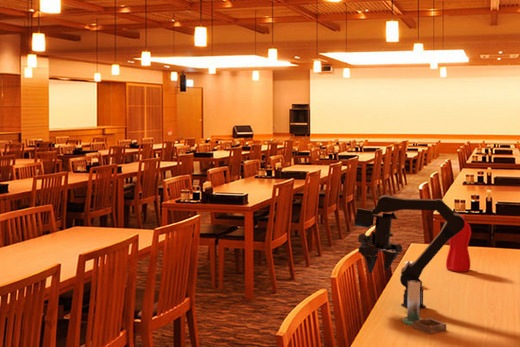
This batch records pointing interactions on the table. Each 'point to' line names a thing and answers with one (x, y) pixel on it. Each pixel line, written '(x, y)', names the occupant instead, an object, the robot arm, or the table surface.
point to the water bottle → (459, 250)
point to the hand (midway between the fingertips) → (378, 271)
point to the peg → (413, 300)
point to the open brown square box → (424, 327)
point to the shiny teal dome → (408, 321)
